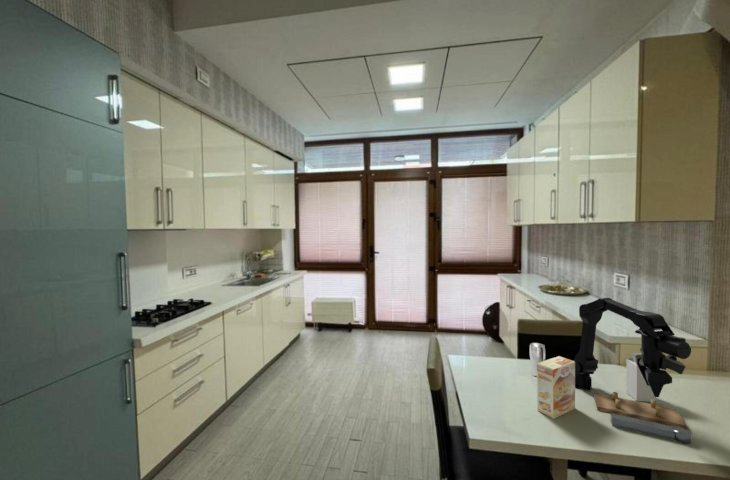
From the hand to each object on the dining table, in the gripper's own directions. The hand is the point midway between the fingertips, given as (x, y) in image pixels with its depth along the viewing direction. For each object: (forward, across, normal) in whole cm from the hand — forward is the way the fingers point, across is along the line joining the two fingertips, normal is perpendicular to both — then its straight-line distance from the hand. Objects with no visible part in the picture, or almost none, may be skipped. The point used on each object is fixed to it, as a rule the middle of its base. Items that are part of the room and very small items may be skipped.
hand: (652, 391), depth 115 cm
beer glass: (+13, +28, +38) cm, 49 cm away
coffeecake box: (+13, -3, +30) cm, 33 cm away
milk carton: (+13, +24, -1) cm, 27 cm away
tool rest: (+13, +10, +3) cm, 17 cm away
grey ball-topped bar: (+13, -4, +2) cm, 14 cm away
